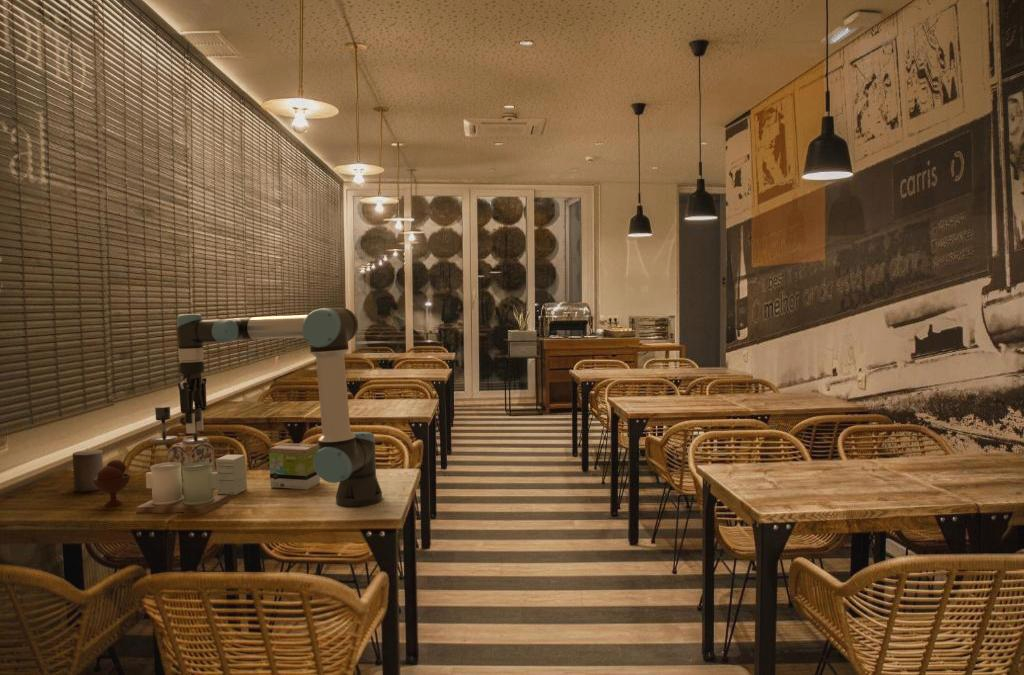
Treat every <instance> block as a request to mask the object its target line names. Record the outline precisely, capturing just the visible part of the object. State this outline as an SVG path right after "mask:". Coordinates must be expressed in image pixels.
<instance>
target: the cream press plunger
mask: <svg viewBox="0 0 1024 675" xmlns="http://www.w3.org/2000/svg"><path fill="white" fill-rule="evenodd" d="M154 409H155V410H154V411H155V420H156V421H160V423H161V436H157V437H152V438H151V439H150V443H151V444H165V443H173V442H175V441H176V442H177V440H178V439H179V438H178V436H177V435H167V425H166V421H167V420H168V421H169V420H171V419H172V418H171V407H170V406H168V405H163V406H156V407H155V408H154Z"/></svg>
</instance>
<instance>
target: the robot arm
mask: <svg viewBox="0 0 1024 675" xmlns="http://www.w3.org/2000/svg"><path fill="white" fill-rule="evenodd" d="M358 330H359V321H358V318H357V316H356V314H355V313H354V312H353V311H352V310H350V309H349V308H346V307H340V306H339V307H322V308H321V307H320V308H318V309H317V308H316V309H314V310H312V311H310V312H309V313H308V314H299V315H298V314H295V315H277V316H276V315H275V316H274V315H273V316H257V317H256V316H255V317H254V316H253V317H244V316H243V317H237V318H219V319H203V318H202V315H201V314H200V313H185V314H184V313H183V314H178V316H177V317H176V334H177V342H178V343H177V344H178V347H177V348H178V352H177V354H178V360H179V361H180V362H179V363H178V368H179V369H178V370H179V374H181V375H183V378H182V382H178V383H177V387H178V390H179V391H178V393H179V403H180V404H179V405H180V406H179V407H180V408H179V409H180V413H181V414H182V415H183V414H184V415H185V428H186V429H185V430H186V432H185V433H186V434H193V433H196V431H195V413H193V408H196V407H200V408H201V413H202V420H201V421H197V431H204V411H206V410H207V378H206V377H203V376H202V373H204V372H205V361H203V360H204V359H205V358H204V343H205V344H206V343H216V344H217V343H218V344H219V343H220V344H225V343H232V342H234V341H248V340H249V341H250V340H272V339H274V340H277V339H279V340H280V339H300V338H301V339H304V340H305V341H306V342H307V343H308V345H309V348H310V349H309V350H310V354H311V355H313V357H315V361H316V372H317V386H318V396H319V397H318V398H319V408H320V419H321V420H320V422H321V432H322V433H321V435H320V436H319V438H318V439H317V444H318V447H319V450H318V452H317V453H316V455H315V457H314V461H313V465H314V469H315V471H316V473H317V475H318V476H319V477H320V479H322V480H323V481H324V482H327V483H332V484H333V483H334V484H335V483H339V484H338V486H337V491H336V493H335V494H336V495H335V503H336V505H339V506H342V507H364V506H370V505H374V504H377V503H380V502H381V501H382V499H383V492H382V489H381V486H380V484H379V480H378V478H377V469H376V468H377V467H376V466H377V465H376V441H375V435H374V433H372V432H370V431H369V432H368V431H352V430H351V424H350V413H349V412H350V411H349V398H348V396H349V395H348V385H347V374H346V362H345V361H346V360H345V355H346V353H348V351H349V348H350V347H349V342H350V341H351V340H353V339H354V338H355V337H356V335H357V333H358Z"/></svg>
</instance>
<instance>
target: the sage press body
mask: <svg viewBox="0 0 1024 675" xmlns="http://www.w3.org/2000/svg"><path fill="white" fill-rule="evenodd" d="M181 468H182V474H183V489H182V493H183V495H184V500H183V504H184V505H201V504H206V503H210V502H212V501H214V500H215V498H214V496H213V495H214V489H218V487H219V479H218V472H217V471H215V472H212V463H210V462H198V463H191V464H186V465H184V466H182V467H181Z"/></svg>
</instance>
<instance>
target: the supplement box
mask: <svg viewBox="0 0 1024 675" xmlns="http://www.w3.org/2000/svg"><path fill="white" fill-rule="evenodd" d="M246 462H247V461H246V455H245V454H225V455H223V456H221V457H219V458H216V459H215V465H216V466H215V471H216V472H218V479H219V487H218V488H217V494H218V495H232V496H233V495H236V496H237V495H238V494H239V493H242V492H244V491H246V490H247V489H248V484H247V465H246Z"/></svg>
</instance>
